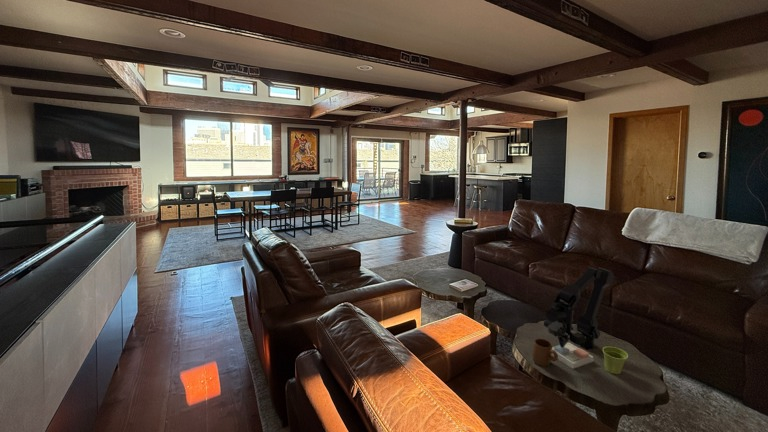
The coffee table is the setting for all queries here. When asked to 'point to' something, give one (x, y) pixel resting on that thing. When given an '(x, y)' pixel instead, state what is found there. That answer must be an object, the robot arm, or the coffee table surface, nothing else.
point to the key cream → (570, 348)
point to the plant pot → (614, 359)
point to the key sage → (572, 357)
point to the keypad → (575, 363)
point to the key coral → (581, 353)
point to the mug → (543, 352)
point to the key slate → (561, 350)
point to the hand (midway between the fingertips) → (562, 347)
